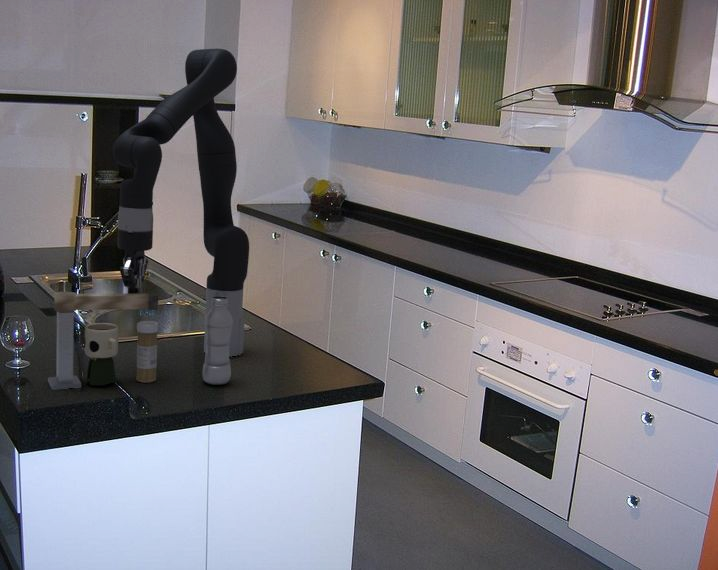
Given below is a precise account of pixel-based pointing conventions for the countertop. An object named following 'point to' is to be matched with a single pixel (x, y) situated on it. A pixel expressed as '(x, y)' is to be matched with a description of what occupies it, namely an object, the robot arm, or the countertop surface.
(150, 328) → the sprinkles bottle
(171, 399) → the countertop surface
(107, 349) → the character mug
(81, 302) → the swing arm
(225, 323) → the plastic bottle
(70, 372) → the post
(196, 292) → the countertop surface
